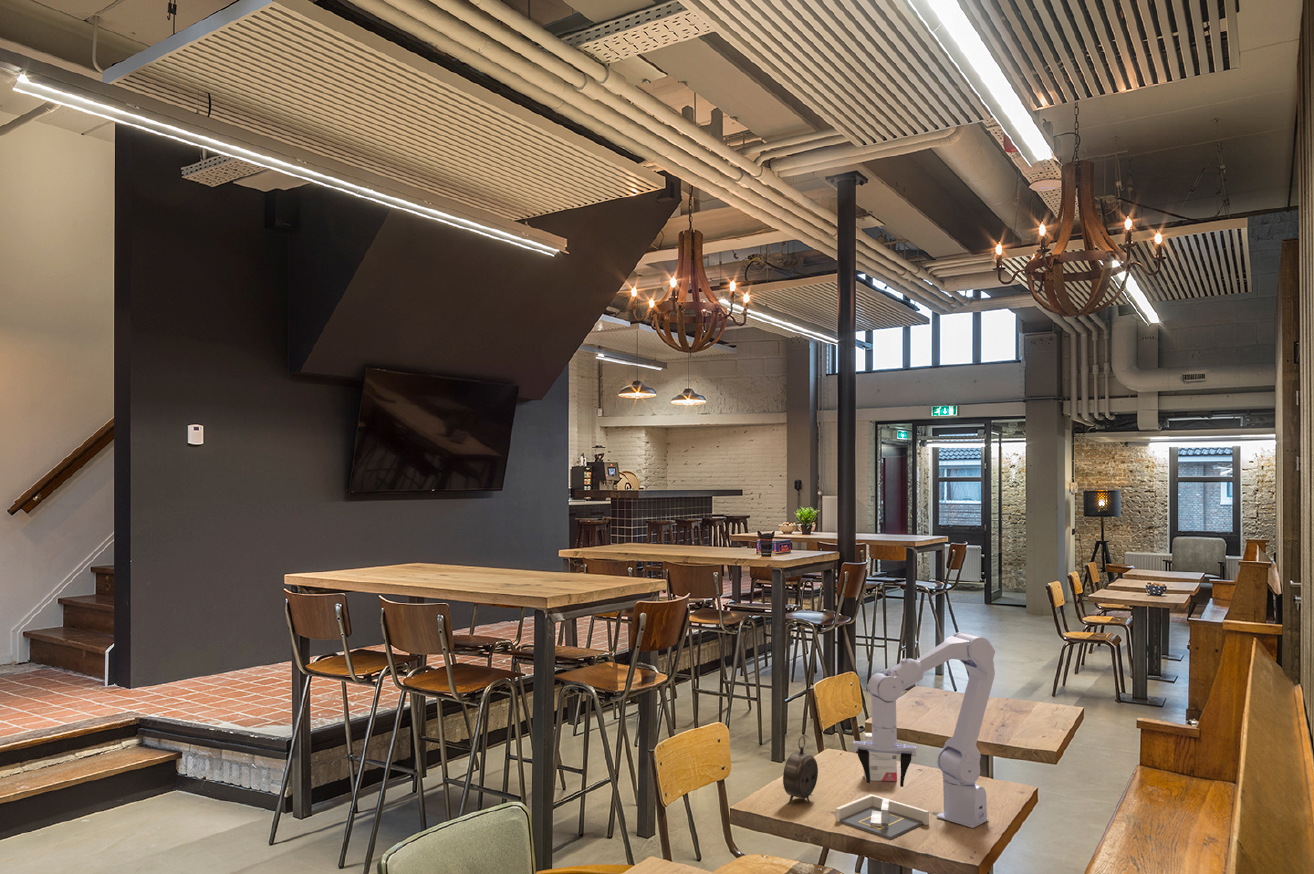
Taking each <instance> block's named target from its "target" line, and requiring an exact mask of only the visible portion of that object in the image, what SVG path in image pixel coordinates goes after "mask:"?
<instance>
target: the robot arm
mask: <svg viewBox="0 0 1314 874" xmlns="http://www.w3.org/2000/svg"><path fill="white" fill-rule="evenodd" d="M995 654H996V650H995V648H994V647H993V645H992V643H991V642H990V640H988V639H987V638H985V637H983V636H976V635H972V634H969V633H966V632H963V631H959V632H955V633H954V634H952V635H951V636H948V637H946V639H945V640H944V641H943V642H941V643H939V644H938V645H936V646H935V647H933V648H931V649H930V650H929V651H927V652H926V653H924V654H923V655H921V656H919V657H918V658H917V659H913V658H905V657H904V658H902V659H900V660H899V662H900V663H897V664H896V665H895V666H892V667H891V668H888V667H887V668H886V669H884V672H883V673H882V672H877V673H874V674H872V676H871V677H870V678H869V680H868V683H867V684H866V689H867V691H868V693H869V695H870V696H871V697H870V698H871V733H872V741H863V740H853V744H852V747H853V748H852V750H853V752H857V757H858V759H859V761H860V763H861V765H862V768H863V773H864V772H865V775H866V779H865V781H866V784H869V785H870V784H871V780H870V768H869V752H880V753H892V754H896V755H900V759H899V760H900V782H899V783H900V784H899V785H900V786H899V787H900V788H904V783H905V782H904V781H905V777H906V773H907V771H908V769H909V766H910V764H911V762H912V757H917V746H916V745H910V744H904V743H899V742H898V738H897V736H898V735H897V734H898V733H897V729H898V728H897V727H898V726H897V700H898V699H899V697H900V696H901V693H902V692H903V691H904V690H906V689H908V688H910V687H912V686H913V685H916V683H919V682H920V681H922V680H923V679H924V673H925V672H928V671H929V670H932V669H933V668H936V667H937V666H941V665H942V664H944V663H946V662H948V661H950V660H957V661H958V660H959V661H960V662H961V663H962V664H963V665H964V667H965V669H966V670H967V672H968V674H969V676H968V680H967V681H968V682H967V684H966V687H965V691H964V694H963V695H964V696H963V699H962V703H961V706H960V709H959V713H958V716H957V717H958V718H957V721H956V724H955V729H954V731H953V735H952V736H950V738H948V739H947V740H945V743H944V745H943V748H942V749H941V750H940V751H939V752H938V754H937V760H936V763H937V767H938V768H939V769H940V771H941V772H942V779H943V781H942V782H943V783H942V785H943V790H942V791H943V812H940V813H938V814H936V818H937V819H941V820H945V821H947V822H948V821H949V822H952V823H955V824H958V825H962V826H964V827H969V828H971V829H973V828H977V827H978V826H979V825H981V824H983V823H986V822H988V821H989V817H988V811H987V810H988V809H987V807H988V806H987V792H986V789H985V787H983V786H981V785H978V783H977V781H978V779H979V778H980V775H981V765H980V762H981V758H982V756H981V753H980V751H979V749H978V746H977V743H978V739H979V735H980V731H981V728H982V724H983V721H984V717H985V712H986V710H987V705H988V701H989V698H990V695H991V690H992V686H993V684H994V683H993V682H994V680H995V675H996V671H995V664H994V657H995Z"/></svg>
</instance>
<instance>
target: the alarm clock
mask: <svg viewBox="0 0 1314 874" xmlns="http://www.w3.org/2000/svg"><path fill="white" fill-rule="evenodd" d="M801 739H803V746H800V745H801V744H800V742H801ZM805 746H806V738H805V737H804V735H801V736H800V737H799V738H798V748H799V750H796V751H794V752H792V753H791V754H790V755H789V757H788V758H787V759H786V762H785V765H784V769H783V774H782V783H783V789H784V791H785V793H786V794H787V795H789V796H790V797H789V801H788V805H791V803H792V801H793V799H794V797H795V798H797V799H801V800H803V799H806V800H807V802H808V804H810V803H811V801H810V796H811V794H813V792H814V790H815V788H816V785H817V781H818V776H819V768H818V763H817V760H816V758H815V757H814V756H813V755H812V754H809V753H806V752H804V750H805Z"/></svg>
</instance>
